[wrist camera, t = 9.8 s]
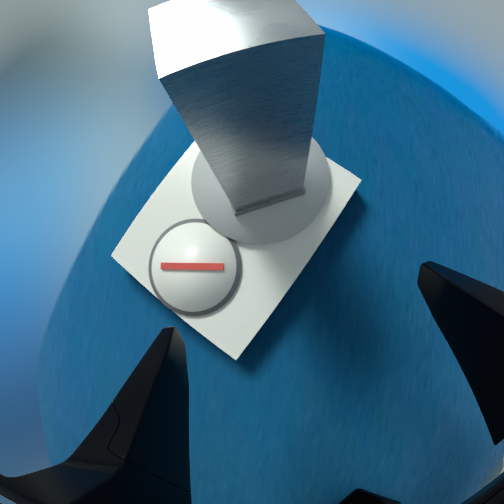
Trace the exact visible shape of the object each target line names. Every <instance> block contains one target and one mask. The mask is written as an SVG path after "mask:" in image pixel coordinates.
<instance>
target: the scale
mask: <svg viewBox="0 0 504 504" xmlns="http://www.w3.org/2000/svg"><path fill="white" fill-rule="evenodd" d="M360 182H361V179H359V178H358V177H356V176H355V175H353V174H352V173H350V172H349V171H347V170H346V169H344V168H343V167H341V166H340V165H338V164H336V163H335V162H333V161H332V160H330V159H328V158H327V157H325V155H324V153H323V151H322V149H321V147H320V146H319V145H318V143H317V142H316V141H315V140H314V139H313V137H312V138H311V144H310V150H309V156H308V163H307V169H306V175H305V180H304V187H305V189H306V193H305V195H302V196H299V197H296V198H293V199H289V200H286V201H283V202H280V203H277V204H274V205H271V206H267V207H264V208H261V209H258V210H255V211H252V212H249V213H246V214H243V215H240V216H237V217H235V215H234V213H233V210H232V207H231V203H230V201H229V199H228V197H227V195H226V194H225V192H224V190H223V188H222V187H221V185H220V183H219V181H218V180H217V178H216V176H215V174H214V173H213V171H212V169H211V168H210V166H209V164H208V162H207V161H206V159H205V157H204V155H203V154H202V152H201V150H200V149H199V147H198V145H197V143H196V142H195V141H194V142H193V144H192V145H191V146H190V147H189V148H188V150H187V151H186V152H185V153H184V154H183V156H182V157H181V158H180V159H179V161H178V162H177V163H176V164H175V166H174V167H173V168H172V169H171V171H170V172H169V173H168V175H167V176H166V177H165V178H164V180H163V181H162V182H161V184H160V185H159V186H158V188H157V189H156V190H155V192H154V193H153V194H152V196H151V197H150V199H149V200H148V201H147V203H146V204H145V205H144V207H143V208H142V210H141V211H140V213H139V214H138V215H137V217H136V218H135V220H134V221H133V223H132V224H131V226H130V227H129V229H128V230H127V232H126V233H125V235H124V236H123V238H122V239H121V241H120V242H119V244H118V245H117V247H116V248H115V250H114V252H113V253H112V255H111V256H112V257H113V258H114V259H115V260H116V261H117V262H118V263H119V264H120V265H121V266H122V267H124V268H125V269H126V270H127V271H128V272H129V273H130V274H131V275H132V276H133V277H134V278H135V279H137V280H138V281H139V282H140V283H141V284H142V285H143V286H144V287H145V288H147V289H148V290H149V291H150V292H151V293H152V294H153V295H155V296H156V297H157V298H158V299H159V300H160V301H161V302H162V303H163V304H164V305H165V306H166V307H168V308H169V309H170V310H172V311H173V312H174V313H176V314H177V315H178V316H179V317H181V318H182V319H183V320H184V321H185V322H187V323H188V324H189V325H190V326H192V327H193V328H194V329H195V330H197V331H198V332H199V333H200V334H202V335H203V336H204V337H206V338H207V339H208V340H209V341H211V342H212V343H213V344H215V345H216V346H217V347H219V348H220V349H221V350H223V351H224V352H225V353H227V354H228V355H229V356H231V357H232V358H234V359H235V360H237V358H238V357H239V356H240V354H241V353H242V352H243V351H244V349H245V348H246V347H247V345H248V344H249V343H250V341H251V340H252V339H253V337H254V336H255V335H256V333H257V332H258V331H259V329H260V328H261V327H262V325H263V324H264V323H265V321H266V320H267V319H268V317H269V316H270V315H271V313H272V312H273V310H274V309H275V308H276V306H277V305H278V304H279V302H280V301H281V299H282V298H283V297H284V295H285V294H286V292H287V291H288V290H289V288H290V287H291V285H292V284H293V283H294V281H295V280H296V278H297V277H298V275H299V274H300V273H301V271H302V270H303V268H304V267H305V265H306V264H307V263H308V261H309V260H310V258H311V257H312V255H313V254H314V252H315V251H316V249H317V248H318V246H319V245H320V243H321V242H322V240H323V239H324V237H325V236H326V234H327V233H328V231H329V230H330V228H331V227H332V225H333V224H334V222H335V221H336V219H337V218H338V216H339V215H340V213H341V212H342V210H343V208H344V207H345V205H346V204H347V202H348V201H349V199H350V198H351V196H352V194H353V193H354V191H355V190H356V188H357V186H358V185H359V183H360Z"/></svg>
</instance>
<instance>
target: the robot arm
mask: <svg viewBox="0 0 504 504" xmlns="http://www.w3.org/2000/svg"><path fill="white" fill-rule="evenodd" d="M418 287H419V289H420V291H421V293H422V295H423V297H424V299H425V301H426V303H427V305H428V307H429V309H430V311H431V314H432V316H433V318H434V319H435V321H436V323H437V325H438V326H439V328H440V330H441V332H442V333H443V335H444V337H445V339H446V340H447V342H448V344H449V346H450V348H451V349H452V351H453V353H454V355H455V357H456V359H457V361H458V363H459V365H460V367H461V369H462V371H463V373H464V375H465V377H466V379H467V381H468V383H469V385H470V387H471V389H472V391H473V393H474V396H475V398H476V400H477V402H478V405H479V407H480V410H481V412H482V414H483V417H484V419H485V422H486V424H487V427H488V429H489V432H490V435H491V437H492V440H493V443H494V445H497V444H498V443H499V442H501V441H502V440H503V439H504V292H503V291H501V290H499V289H496V288H494V287H492V286H490V285H487V284H485V283H483V282H480V281H478V280H476V279H473V278H471V277H469V276H466V275H464V274H461V273H459V272H457V271H454V270H452V269H449V268H447V267H444V266H442V265H439V264H437V263H434V262H432V261H428V262H425V263H422V264H421V266H420V270H419V276H418ZM113 402H114V403H113ZM113 402H112V403H111V404H110V406H109V407H108V409H107V410H106V412H105V413H104V415H103V416H102V417H101V419H100V420H99V422H98V423H97V424H96V426H95V427H94V428H93V429H92V431H91V432H90V433H89V434H88V436H87V437H86V438H85V439H84V441H83V442H82V443H81V444H80V445H79V447H78V448H77V449H76V450H75V452H74V453H73V454H72V455H71V456H70V457H69V458H68V459H67V460H65V461H64V462H62V463H60V464H58V465H55V466H52V467H49V468H46V469H43V470H40V471H36V472H33V473H30V474H26V475H22V476H18V477H5V476H3V475H1V474H0V494H1V495H2V496H4V497H6V498H8V499H9V500H11V501H13V502H15V503H17V504H192V502H191V493H190V492H191V487H190V462H189V382H188V372H187V362H186V351H185V344H184V341H183V339H182V338H181V336H180V334H179V332H178V330H177V328H176V327H174V326H171V327H165V328H163V329H162V330H161V332H160V333H159V335H158V336H157V338H156V339H155V340H154V342H153V343H152V345H151V346H150V348H149V349H148V350H147V352H146V353H145V355H144V356H143V358H142V359H141V360H140V362H139V363H138V365H137V366H136V368H135V369H134V371H133V372H132V374H131V375H130V376H129V378H128V379H127V381H126V382H125V384H124V385H123V387H122V388H121V390H120V391H119V393H118V394H117V396H116V397H115V399H114V400H113ZM358 493H359V494H358ZM0 504H1V503H0ZM339 504H401V503H400V502H398V501H395V500H392V499H388V498H385V497H382V496H379V495H377V494H374V493H371V492H368V491H366V490H363V489H356V490H355V491H353V492H352V493H351V494H350V495H349V496H347V497H346V498H345V499H344V500H343V501H341V502H340V503H339ZM461 504H504V472H503V473H501V474H500V475H499V476H498V477H497V478H495V479H494V480H493V481H492V482H490V483H489V484H488V485H486V486H485V487H484V488H482V489H481V490H480V491H478V492H477V493H476V494H474V495H473V496H471V497H470V498H468V499H467V500H465V501H464V502H462V503H461Z"/></svg>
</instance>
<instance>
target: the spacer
mask: <svg viewBox="0 0 504 504" xmlns="http://www.w3.org/2000/svg"><path fill="white" fill-rule="evenodd" d="M148 11H149V19H150V26H151V33H152V40H153V46H154V53H155V60H156V65H157V72H158V78H159V80H160V81H161V83H162V85H163V86H164V88H165V90H166V92H167V93H168V95H169V97H170V99H171V100H172V102H173V104H174V105H175V107H176V109H177V111H178V112H179V114H180V116H181V117H182V119H183V121H184V123H185V124H186V126H187V128H188V130H189V131H190V133H191V135H192V136H193V138H194V140H195V142H196V143H197V145H198V147H199V149H200V150H201V152H202V154H203V155H204V157H205V159H206V161H207V162H208V164H209V166H210V168H211V169H212V171H213V173H214V174H215V176H216V178H217V180H218V181H219V183H220V185H221V187H222V188H223V190H224V192H225V194H226V195H227V197H228V199H229V201H230V203H231V207H232V210H233V213H234V215H235V217H237V216H240V215H243V214H246V213H249V212H252V211H255V210H258V209H261V208H264V207H267V206H271V205H274V204H277V203H280V202H283V201H286V200H289V199H293V198H296V197H299V196H302V195H305V193H306V189H305V187H304V180H305V175H306V169H307V163H308V156H309V150H310V144H311V138H312V131H313V125H314V118H315V111H316V104H317V97H318V89H319V82H320V74H321V66H322V58H323V50H324V41H325V33H324V32H323V30H322V29H321V28H320V27H319V26H318V25H317V24H316V23H315V22H314V20H313V19H312V18H311V17H310V16H309V15H308V14H307V13H306V12H305V11H304V10H303V9H302V8H301V6H300V5H299V4H298V3H297V2H296V1H295V0H171V1H169V2H166V3H163V4H161V5H158V6H156V7H153V8H151V9H149V10H148Z"/></svg>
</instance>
